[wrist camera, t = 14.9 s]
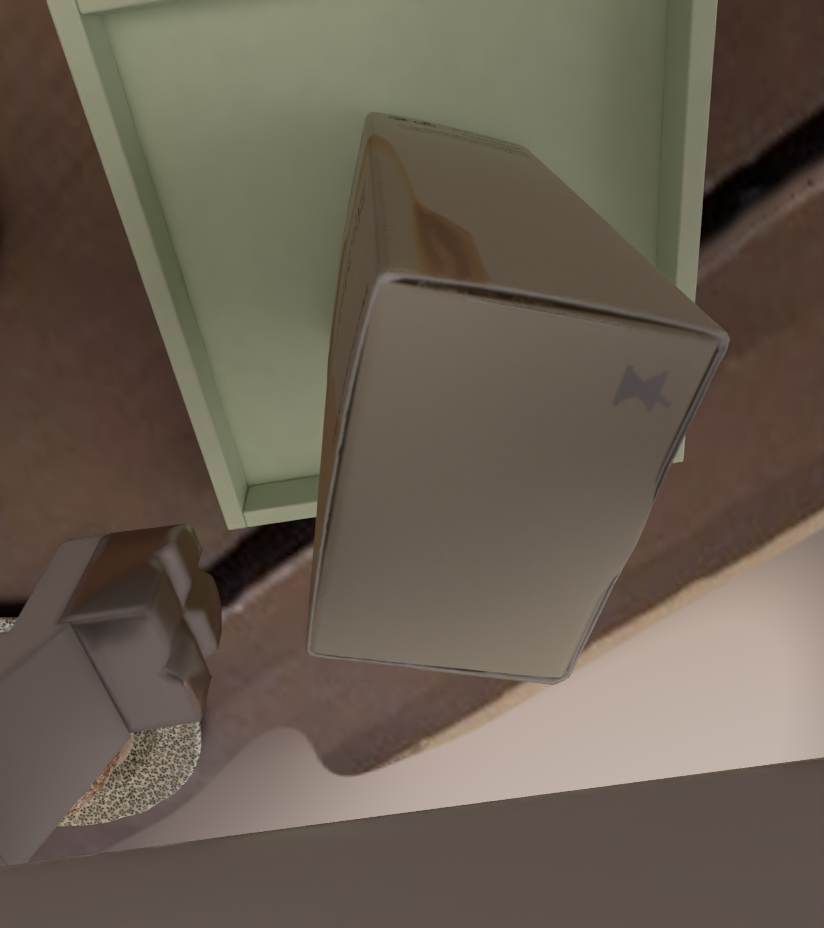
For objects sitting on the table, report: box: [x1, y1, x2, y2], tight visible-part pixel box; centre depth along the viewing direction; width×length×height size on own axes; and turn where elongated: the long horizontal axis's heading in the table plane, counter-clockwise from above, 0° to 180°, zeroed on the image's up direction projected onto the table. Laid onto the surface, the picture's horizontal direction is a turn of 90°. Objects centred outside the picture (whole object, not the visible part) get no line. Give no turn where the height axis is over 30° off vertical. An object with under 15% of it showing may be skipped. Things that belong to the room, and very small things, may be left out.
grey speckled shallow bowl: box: [0, 617, 202, 826], centre depth 27 cm, size 12×12×5 cm
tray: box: [46, 0, 718, 530], centre depth 19 cm, size 14×14×2 cm
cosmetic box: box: [306, 112, 730, 685], centre depth 14 cm, size 6×4×12 cm
